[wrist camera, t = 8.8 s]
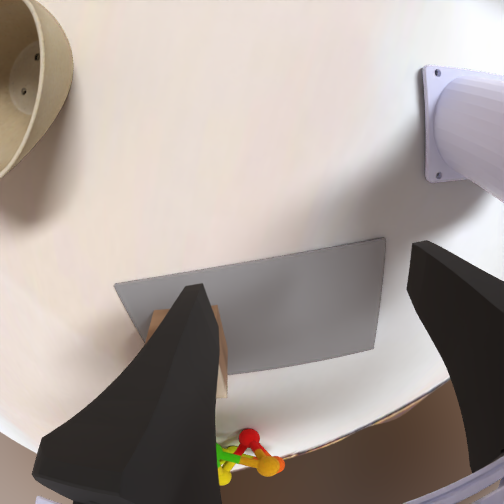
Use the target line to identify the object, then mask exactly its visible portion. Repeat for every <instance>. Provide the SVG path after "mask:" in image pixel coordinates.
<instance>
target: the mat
mask: <svg viewBox="0 0 504 504" xmlns="http://www.w3.org/2000/svg"><path fill="white" fill-rule="evenodd" d="M385 245H386V239H385V238H380V239H375V240H369V241H364V242H358V243H352V244H347V245H341V246H335V247H330V248H324V249H318V250H313V251H307V252H301V253H295V254H290V255H284V256H278V257H272V258H266V259H261V260H255V261H249V262H243V263H237V264H231V265H225V266H219V267H213V268H207V269H201V270H195V271H189V272H183V273H177V274H171V275H165V276H159V277H153V278H147V279H141V280H135V281H128V282H122V283H116V284H115V285H114V287H115V289H116V291H117V293H118V295H119V297H120V299H121V301H122V303H123V305H124V307H125V308H126V310H127V312H128V314H129V316H130V318H131V320H132V321H133V323H134V325H135V327H136V328H137V330H138V332H139V334H140V335H141V337H142V339H143V341H144V342H146V338H147V334H148V330H149V327H150V323H151V319H152V316H153V312H154V310H161V309H170V308H171V307H172V305H173V304H174V302H175V301H176V299H177V298H178V296H179V295H180V293H181V292H182V290H183V289H184V287H185V286H188V285H194V284H200V283H203V285H204V288H205V291H206V293H207V296H208V299H209V302H210V304H211V306H212V305H218V309H219V314H220V318H221V322H222V327H223V331H224V335H225V339H226V343H227V348H228V366H227V375H232V374H241V373H249V372H256V371H263V370H270V369H277V368H283V367H289V366H295V365H300V364H306V363H311V362H317V361H322V360H327V359H332V358H336V357H341V356H346V355H350V354H354V353H359V352H363V351H367V350H371V349H374V343H375V337H376V330H377V323H378V316H379V308H380V300H381V292H382V282H383V271H384V260H385Z"/></svg>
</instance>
